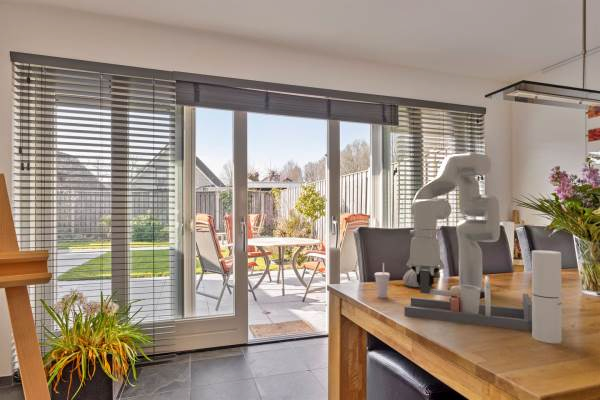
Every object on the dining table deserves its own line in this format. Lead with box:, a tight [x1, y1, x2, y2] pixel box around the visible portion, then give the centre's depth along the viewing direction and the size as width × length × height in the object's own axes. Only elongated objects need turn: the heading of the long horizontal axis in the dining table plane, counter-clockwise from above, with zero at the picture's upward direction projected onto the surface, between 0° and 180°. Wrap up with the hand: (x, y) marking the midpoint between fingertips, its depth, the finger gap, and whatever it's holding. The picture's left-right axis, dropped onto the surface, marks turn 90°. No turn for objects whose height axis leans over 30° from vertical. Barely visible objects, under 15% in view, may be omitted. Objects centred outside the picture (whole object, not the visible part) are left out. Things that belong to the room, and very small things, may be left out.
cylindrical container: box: [531, 249, 563, 344], centre depth 108 cm, size 7×7×25 cm
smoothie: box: [374, 262, 391, 299], centre depth 157 cm, size 6×6×14 cm
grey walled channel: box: [404, 275, 532, 332], centre depth 129 cm, size 15×38×13 cm, turn 65°
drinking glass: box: [459, 285, 481, 314], centre depth 129 cm, size 7×7×10 cm
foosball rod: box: [419, 268, 460, 312], centre depth 133 cm, size 9×13×14 cm
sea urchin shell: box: [402, 268, 422, 288], centre depth 178 cm, size 13×14×8 cm
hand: (425, 284), depth 135 cm, fingers closed on foosball rod, 3 cm apart
